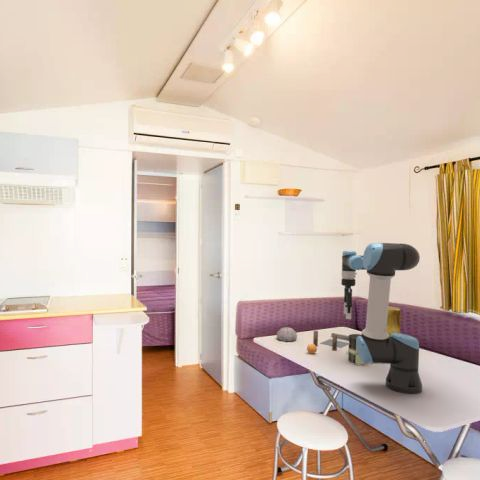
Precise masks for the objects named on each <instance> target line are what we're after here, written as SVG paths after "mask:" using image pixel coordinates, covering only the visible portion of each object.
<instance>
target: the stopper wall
mask: <svg viewBox="0 0 480 480" xmlns="http://www.w3.org/2000/svg"><path fill="white" fill-rule="evenodd" d="M333 334H336V335H337V340H338V339H339V340H344V341H347V342H349V335H346V334H345V335H344V334H340V333H335V332H332V333H331V335H330V337H331V338H333Z"/></svg>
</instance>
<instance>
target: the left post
mask: <svg viewBox="0 0 480 480" xmlns="http://www.w3.org/2000/svg"><path fill="white" fill-rule="evenodd" d="M318 341H319V331H318V330H313V340H312V344H314V345H315V346H316V347H318V345H319V344H318Z"/></svg>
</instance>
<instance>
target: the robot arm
mask: <svg viewBox="0 0 480 480" xmlns="http://www.w3.org/2000/svg"><path fill="white" fill-rule="evenodd" d="M420 257H421V256H420V253H419V251H418V250H417V249H416V247H414V246H413V245H411V244H407V243H395V242H394V243H392V242H372V243H369V244H367V246H366V247H365V249H364V252H363V255H358V254H357V251H355V250H343V251H342V256H341V282H340V283H341V286H344V293H343V294H344V298H343V315H345V319H346V320H352V308H353V299H352V297H353V289H352V287H355V286H356V278H357V277H356V275H358V274H357V273H358V272H356V271H361V270H364V271H365V270H366V274H367V275H368V276H369V284H368V297H367V308H366V321H365V328H364V329H362V331H361V334H360V335H361V336H358V337H357V339H356V346H357V352H358V355H359V358H360V359H361V361H362V362H364V363H368V364H371V365H372V364H380V365H381V364H382V365H385V364H386V365H388V364H389V365H390V366H389V370H388V372H387V375H386V377H385V386H386V387H387V388H388V389H390V390H392V391H395V392H399V393H403V394H419V393H421V392H423V383H422V380H421V377H420V373H419V365H420V364H419V360H420V343H419V342H420V341H419V339H417V338H416V337H414V336H412V335H408V334H405V333H401V334H400V333H392V334H391V337H389V334H388V333H387V332H386V327H387V316H388V306H389V304H390V291H391V283H392V278H394V277H395V276H396V271H409V270H412V269H414V268H415V267H417V266H418V264H419V263H420Z"/></svg>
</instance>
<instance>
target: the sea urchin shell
mask: <svg viewBox="0 0 480 480" xmlns="http://www.w3.org/2000/svg"><path fill="white" fill-rule="evenodd" d="M276 338H277V339H278V340H279V341H282V342H292V341H295V340H297V339H298V334H297V331H295V330H294V329H293V328H292V327H288V326H285V327H281V328H280V329H279V330H278V331H277V332H276Z"/></svg>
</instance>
